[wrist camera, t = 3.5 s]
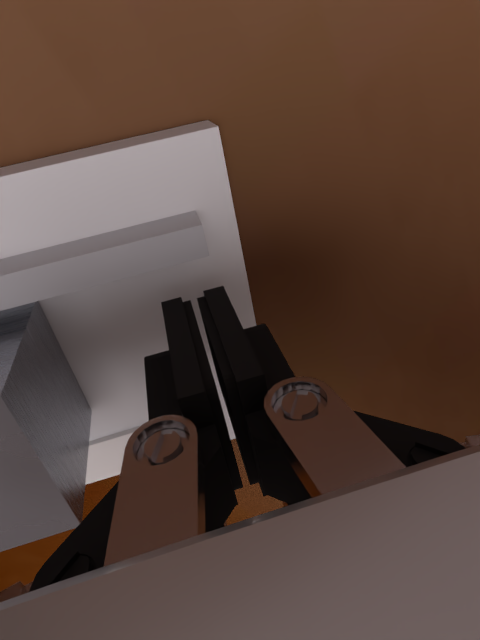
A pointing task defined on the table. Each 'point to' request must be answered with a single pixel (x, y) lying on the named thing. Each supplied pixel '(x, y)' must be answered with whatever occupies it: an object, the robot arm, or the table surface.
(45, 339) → the block
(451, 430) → the table surface
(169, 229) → the board
